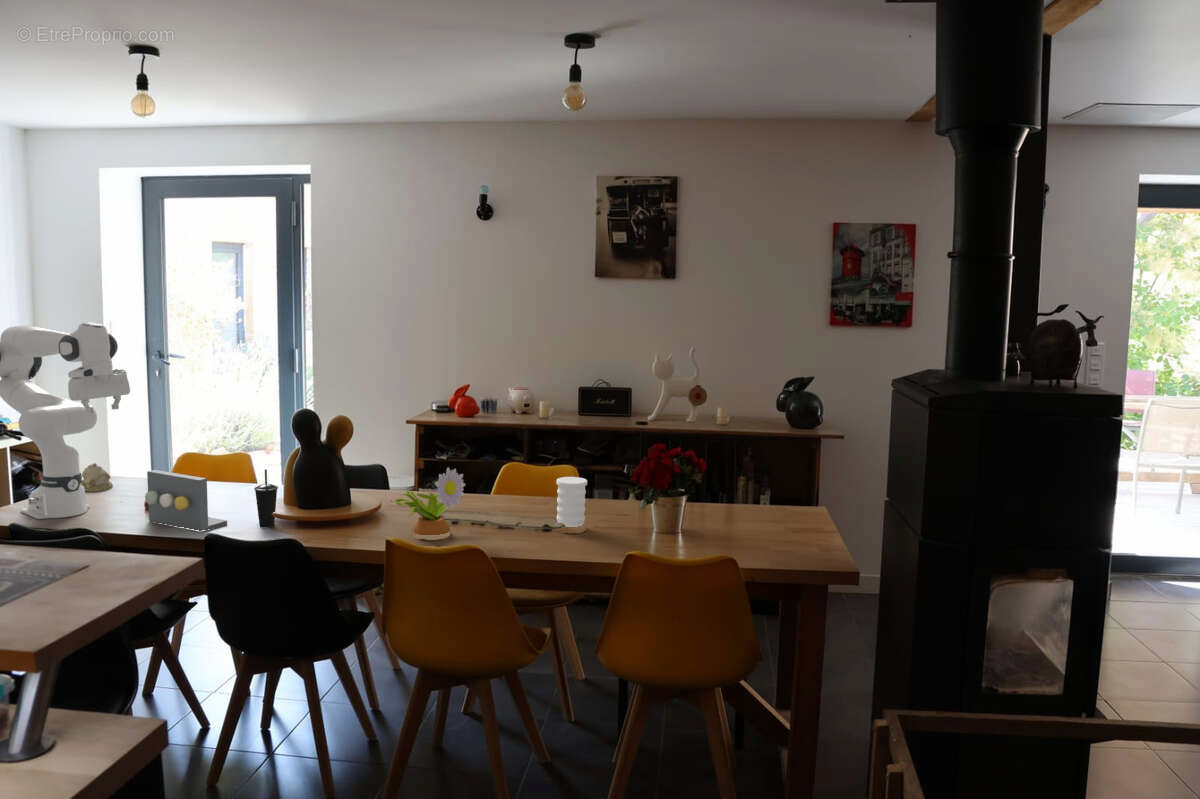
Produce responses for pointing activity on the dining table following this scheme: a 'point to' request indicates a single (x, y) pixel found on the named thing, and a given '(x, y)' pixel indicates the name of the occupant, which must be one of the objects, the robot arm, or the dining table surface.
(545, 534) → the dining table surface
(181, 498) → the button mustard
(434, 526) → the decorative plant
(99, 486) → the ceramic model
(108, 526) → the dining table surface
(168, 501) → the button cream
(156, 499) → the button sage
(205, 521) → the button panel
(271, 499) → the drinking cup
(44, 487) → the robot arm
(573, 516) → the decorative container
